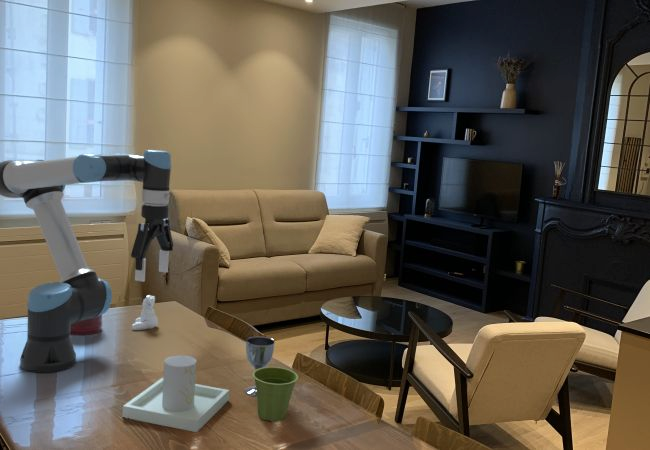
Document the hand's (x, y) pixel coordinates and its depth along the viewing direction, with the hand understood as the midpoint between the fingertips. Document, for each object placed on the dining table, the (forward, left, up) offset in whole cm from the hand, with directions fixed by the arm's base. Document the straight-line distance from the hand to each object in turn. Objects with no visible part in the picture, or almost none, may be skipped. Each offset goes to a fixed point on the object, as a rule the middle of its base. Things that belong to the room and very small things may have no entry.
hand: (151, 276), depth 183 cm
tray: (+20, -20, -29) cm, 40 cm away
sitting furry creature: (-21, +36, -29) cm, 51 cm away
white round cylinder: (+20, -20, -28) cm, 40 cm away
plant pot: (+44, -14, -29) cm, 54 cm away
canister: (-38, +23, -29) cm, 53 cm away
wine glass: (+35, -1, -29) cm, 45 cm away
